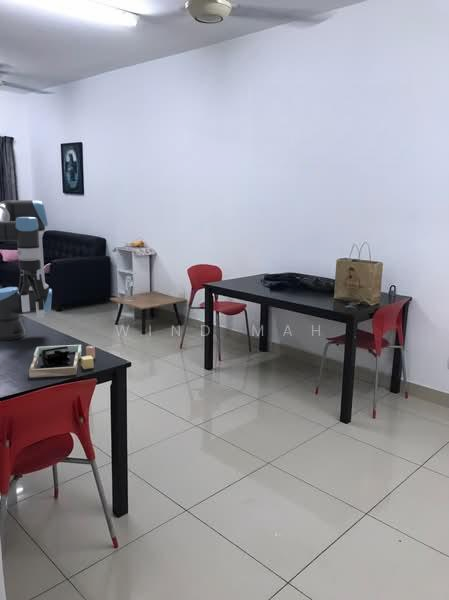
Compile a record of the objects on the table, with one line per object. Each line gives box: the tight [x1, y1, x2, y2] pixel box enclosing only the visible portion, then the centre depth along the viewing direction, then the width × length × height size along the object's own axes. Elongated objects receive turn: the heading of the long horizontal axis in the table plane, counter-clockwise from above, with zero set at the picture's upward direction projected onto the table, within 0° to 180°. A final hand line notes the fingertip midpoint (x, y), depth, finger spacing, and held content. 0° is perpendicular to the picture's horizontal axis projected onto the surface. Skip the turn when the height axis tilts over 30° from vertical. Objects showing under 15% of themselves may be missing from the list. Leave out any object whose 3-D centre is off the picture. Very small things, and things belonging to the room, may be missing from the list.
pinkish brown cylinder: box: [85, 345, 96, 360], centre depth 202 cm, size 4×4×5 cm
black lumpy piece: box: [40, 346, 71, 368], centre depth 195 cm, size 10×7×7 cm
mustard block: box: [80, 355, 95, 370], centre depth 193 cm, size 4×4×4 cm
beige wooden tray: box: [28, 352, 80, 379], centre depth 191 cm, size 18×17×3 cm
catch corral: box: [33, 344, 83, 360], centre depth 204 cm, size 10×18×3 cm, turn 104°
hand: (33, 314), depth 180 cm, fingers open, 13 cm apart
